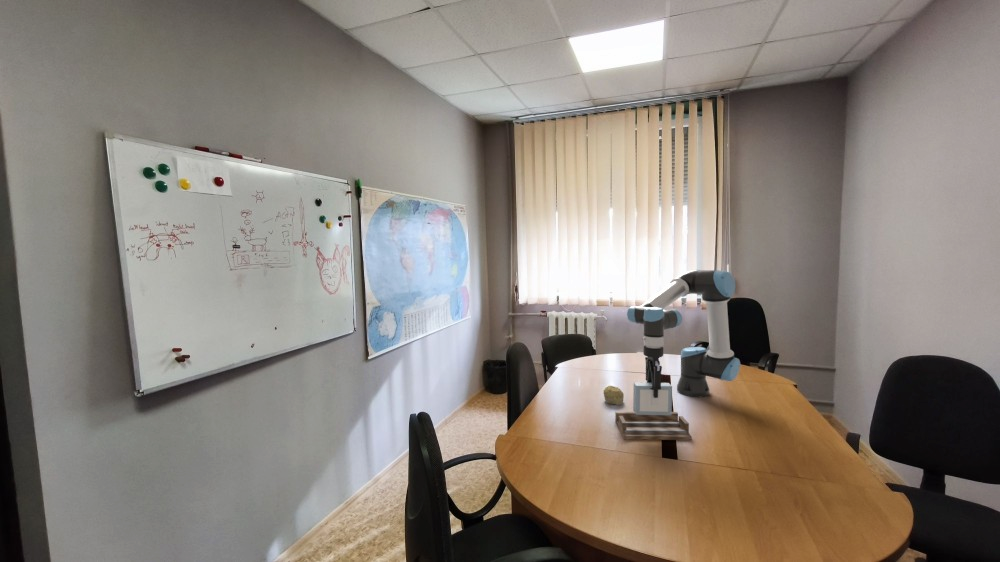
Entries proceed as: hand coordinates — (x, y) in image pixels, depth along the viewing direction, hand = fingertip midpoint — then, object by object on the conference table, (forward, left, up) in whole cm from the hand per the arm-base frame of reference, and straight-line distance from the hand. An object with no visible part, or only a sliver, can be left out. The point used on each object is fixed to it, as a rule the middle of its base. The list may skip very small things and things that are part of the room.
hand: (652, 402), depth 158 cm
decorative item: (+9, -32, -13) cm, 36 cm away
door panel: (0, 0, -5) cm, 5 cm away
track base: (0, -2, -13) cm, 13 cm away
